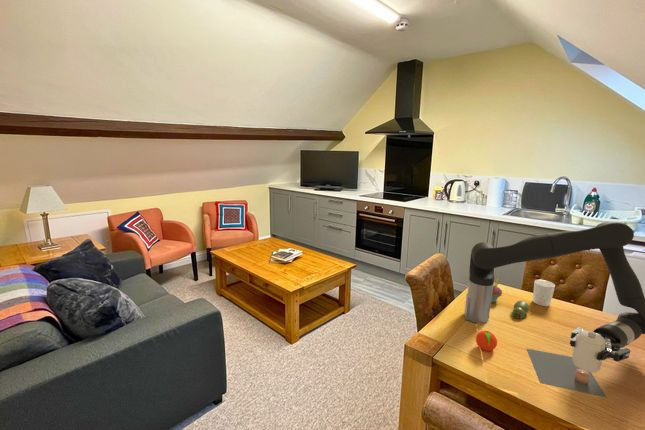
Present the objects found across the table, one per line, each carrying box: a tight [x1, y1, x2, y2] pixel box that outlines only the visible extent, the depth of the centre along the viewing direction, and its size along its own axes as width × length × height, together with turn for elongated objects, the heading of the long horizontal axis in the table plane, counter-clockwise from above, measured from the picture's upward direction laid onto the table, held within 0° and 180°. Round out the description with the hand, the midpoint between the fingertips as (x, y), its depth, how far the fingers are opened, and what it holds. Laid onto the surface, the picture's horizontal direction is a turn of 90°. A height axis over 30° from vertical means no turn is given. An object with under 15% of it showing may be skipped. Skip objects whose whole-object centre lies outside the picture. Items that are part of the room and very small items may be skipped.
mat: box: [525, 348, 607, 398], centre depth 106 cm, size 17×18×1 cm
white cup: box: [532, 279, 556, 307], centre depth 149 cm, size 8×8×10 cm
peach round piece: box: [575, 369, 590, 385], centre depth 101 cm, size 3×3×3 cm
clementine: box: [475, 330, 498, 352], centre depth 116 cm, size 8×7×7 cm
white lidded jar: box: [571, 330, 606, 374], centre depth 99 cm, size 6×6×11 cm
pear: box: [511, 300, 530, 320], centre depth 140 cm, size 6×5×10 cm
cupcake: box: [491, 277, 503, 303], centre depth 152 cm, size 9×8×12 cm
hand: (584, 350), depth 98 cm, fingers closed on white lidded jar, 6 cm apart
